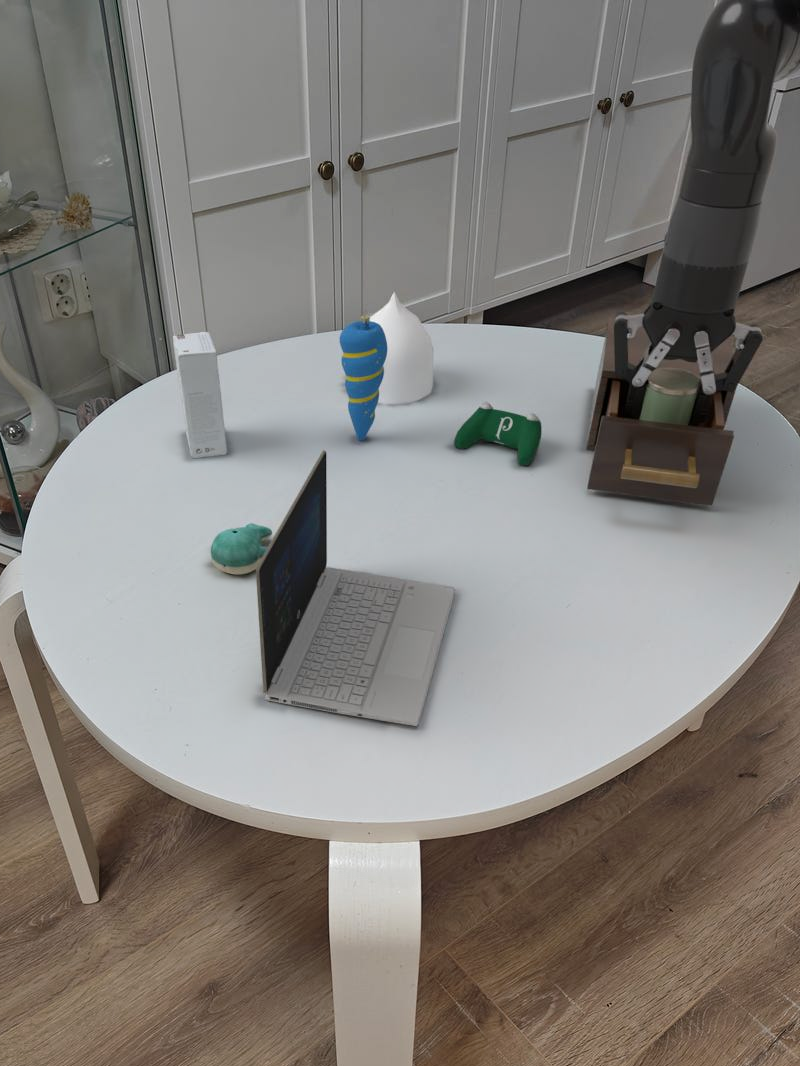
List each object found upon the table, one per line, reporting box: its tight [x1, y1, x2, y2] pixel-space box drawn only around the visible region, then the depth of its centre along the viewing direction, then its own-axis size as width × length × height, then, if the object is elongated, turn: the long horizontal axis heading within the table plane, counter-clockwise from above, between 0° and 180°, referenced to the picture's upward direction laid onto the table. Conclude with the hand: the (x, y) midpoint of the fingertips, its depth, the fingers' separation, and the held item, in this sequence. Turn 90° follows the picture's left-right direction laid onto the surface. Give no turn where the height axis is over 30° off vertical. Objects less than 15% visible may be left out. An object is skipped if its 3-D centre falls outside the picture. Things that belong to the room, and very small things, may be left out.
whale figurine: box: [210, 523, 273, 575], centre depth 86 cm, size 6×7×4 cm
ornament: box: [339, 309, 387, 442], centre depth 100 cm, size 5×5×15 cm
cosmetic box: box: [172, 331, 228, 459], centre depth 100 cm, size 6×4×12 cm
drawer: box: [586, 378, 735, 507], centre depth 94 cm, size 19×12×8 cm, turn 164°
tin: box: [638, 368, 702, 426], centre depth 92 cm, size 5×5×5 cm
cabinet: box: [585, 317, 738, 452], centre depth 104 cm, size 16×14×10 cm
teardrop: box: [369, 291, 435, 405], centre depth 112 cm, size 11×11×12 cm
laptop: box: [255, 449, 456, 727], centre depth 73 cm, size 18×12×13 cm
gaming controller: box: [453, 401, 542, 467], centre depth 102 cm, size 9×4×6 cm
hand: (663, 420), depth 94 cm, fingers closed on tin, 5 cm apart
